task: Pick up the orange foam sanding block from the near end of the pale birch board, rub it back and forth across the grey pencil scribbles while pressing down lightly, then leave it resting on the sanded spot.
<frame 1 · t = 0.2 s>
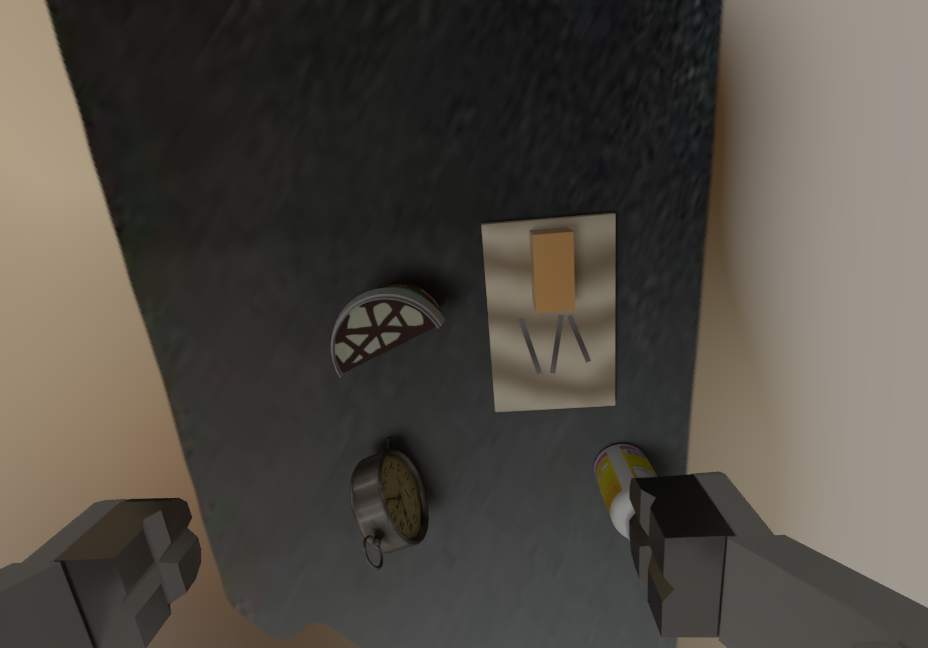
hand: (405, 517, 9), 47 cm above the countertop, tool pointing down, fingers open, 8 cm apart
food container: (392, 301, 57), on the countertop
alarm clock: (398, 467, 63), on the countertop
birch board: (549, 315, 56), on the countertop
supplement bottle: (619, 464, 62), on the countertop
sanding block: (549, 266, 53), point 1 cm above the countertop, touching birch board
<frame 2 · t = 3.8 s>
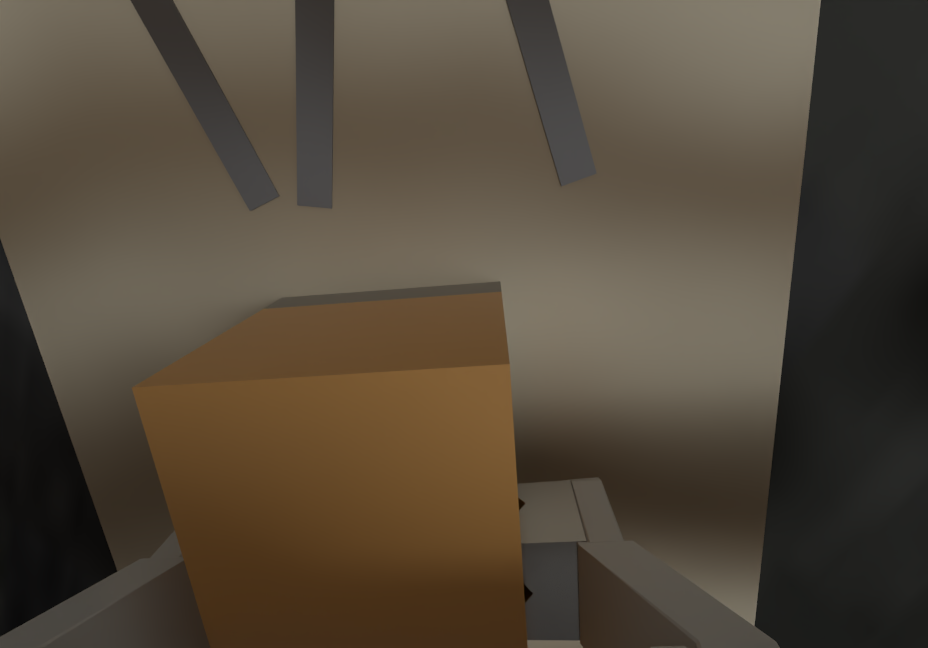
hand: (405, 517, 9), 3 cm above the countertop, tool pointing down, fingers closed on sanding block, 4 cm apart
birch board: (391, 174, 10), on the countertop
sanding block: (414, 480, 10), point 1 cm above the countertop, touching birch board, gripper
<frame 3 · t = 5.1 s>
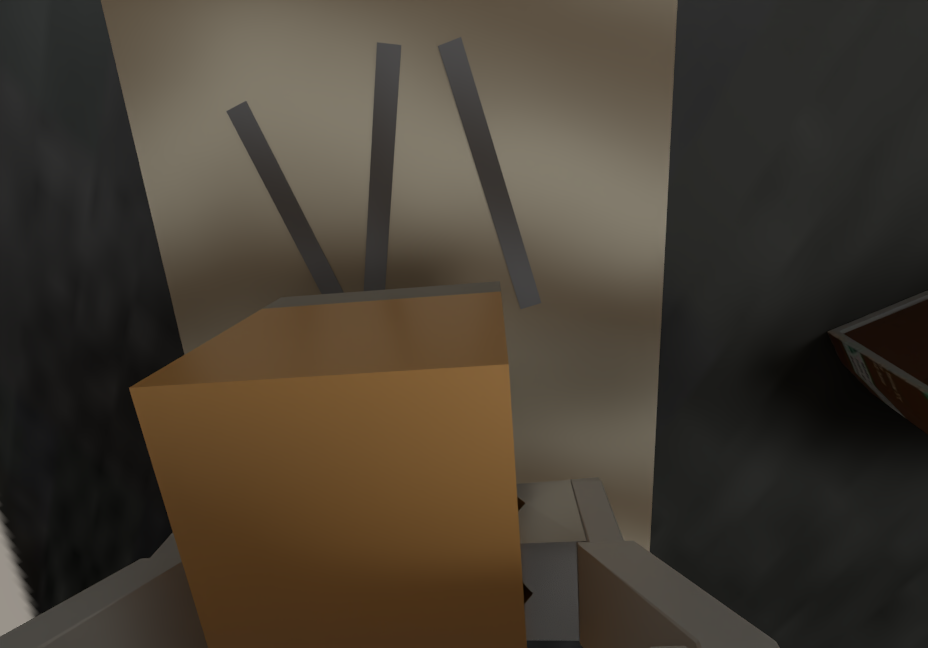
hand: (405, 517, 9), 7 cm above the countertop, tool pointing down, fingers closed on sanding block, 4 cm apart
birch board: (417, 287, 15), on the countertop
sanding block: (414, 481, 10), point 6 cm above the countertop, touching gripper
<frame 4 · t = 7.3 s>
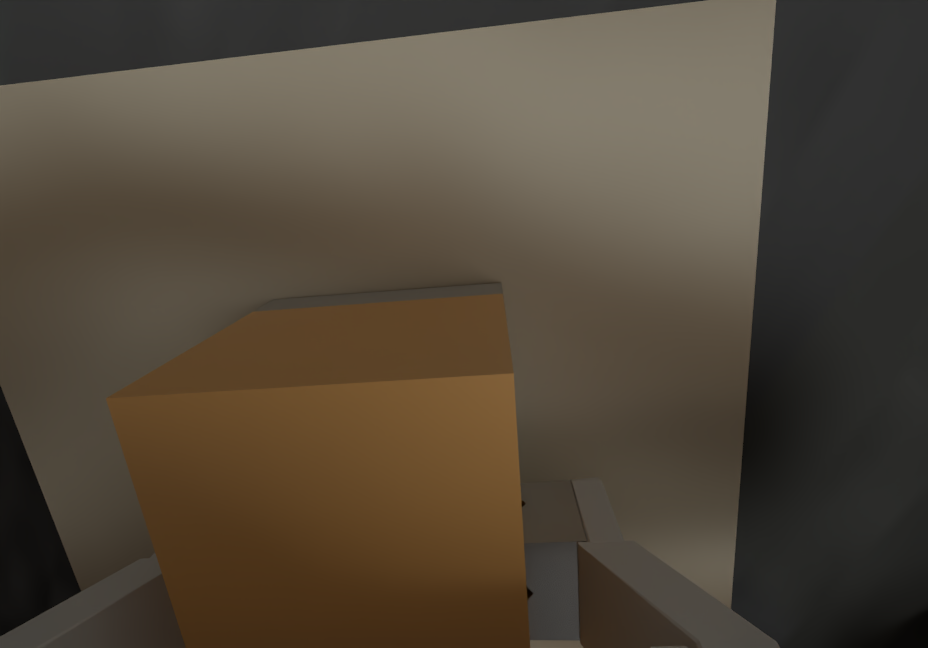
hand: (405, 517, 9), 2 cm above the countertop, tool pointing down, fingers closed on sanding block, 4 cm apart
birch board: (408, 561, 12), on the countertop
sanding block: (412, 489, 10), point 2 cm above the countertop, touching gripper
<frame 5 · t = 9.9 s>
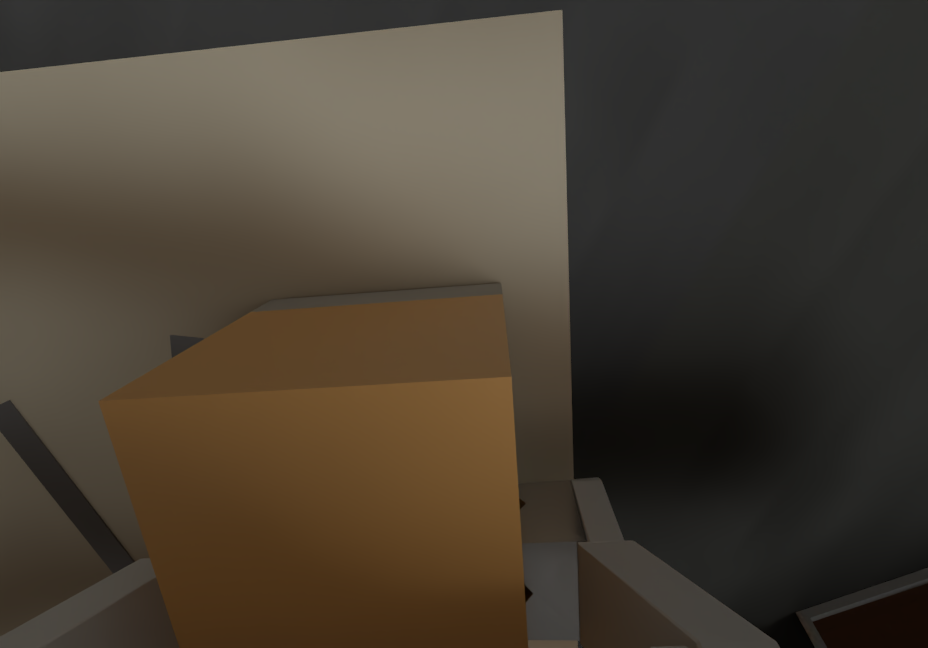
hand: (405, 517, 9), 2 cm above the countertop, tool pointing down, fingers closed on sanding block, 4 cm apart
birch board: (281, 563, 12), on the countertop
sanding block: (411, 491, 10), point 2 cm above the countertop, touching gripper
when the fingers open (3 cm above the countertop, at t = 12.6 s): sanding block stays where it is, resting on birch board.
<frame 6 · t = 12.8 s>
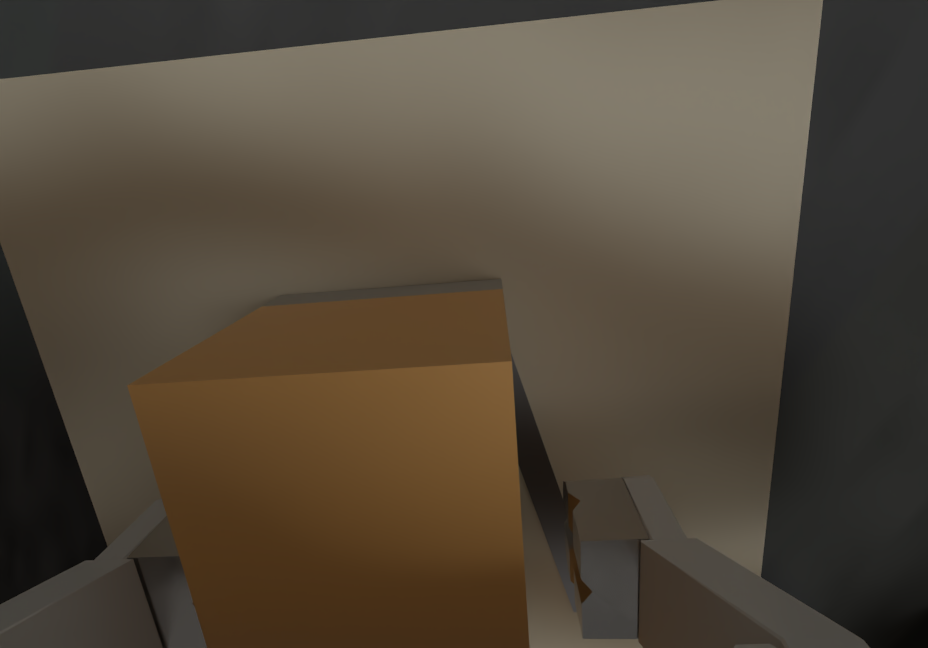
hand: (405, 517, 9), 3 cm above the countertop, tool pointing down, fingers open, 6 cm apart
birch board: (436, 549, 12), on the countertop
sanding block: (414, 480, 10), point 2 cm above the countertop, touching birch board
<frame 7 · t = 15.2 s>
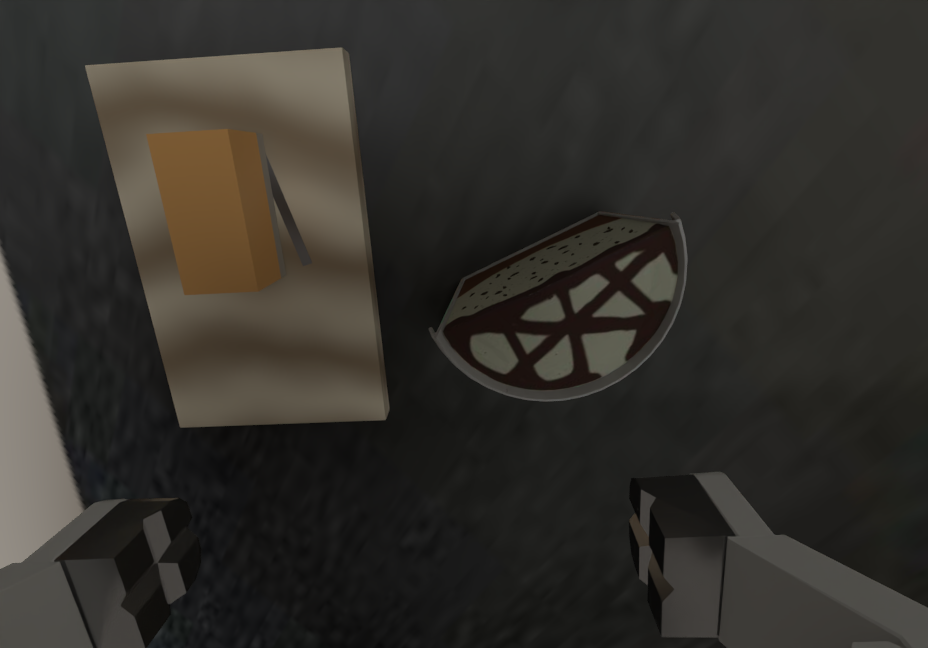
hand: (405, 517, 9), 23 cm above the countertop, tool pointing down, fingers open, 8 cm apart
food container: (548, 288, 31), on the countertop
birch board: (261, 256, 31), on the countertop
sanding block: (241, 209, 29), point 2 cm above the countertop, touching birch board
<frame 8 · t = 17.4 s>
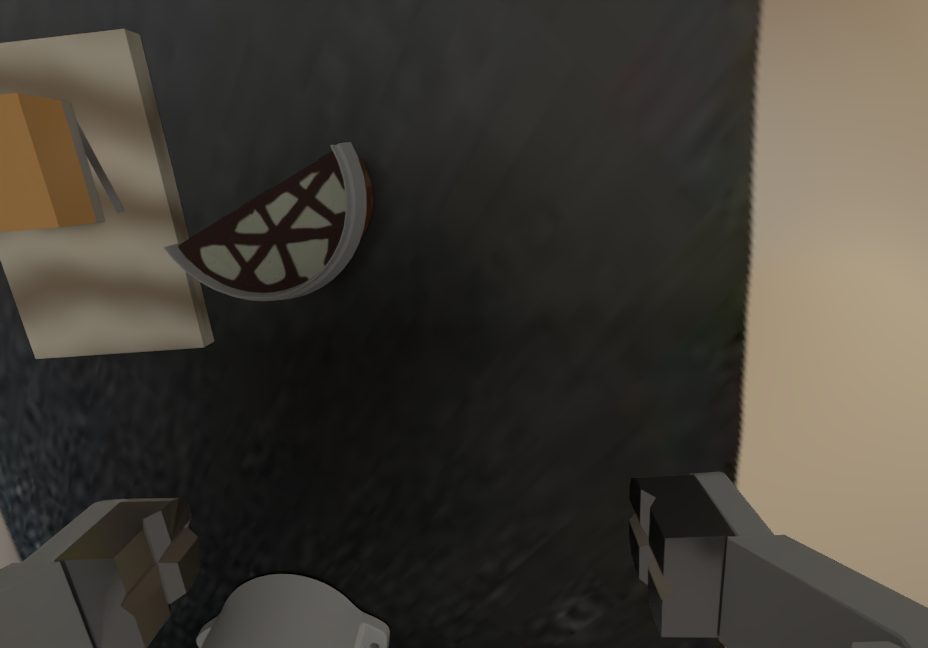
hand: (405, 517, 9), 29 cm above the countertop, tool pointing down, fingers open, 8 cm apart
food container: (332, 229, 37), on the countertop
birch board: (91, 209, 37), on the countertop
sanding block: (61, 166, 35), point 2 cm above the countertop, touching birch board
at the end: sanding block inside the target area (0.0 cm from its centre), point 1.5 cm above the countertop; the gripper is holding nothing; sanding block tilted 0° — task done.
